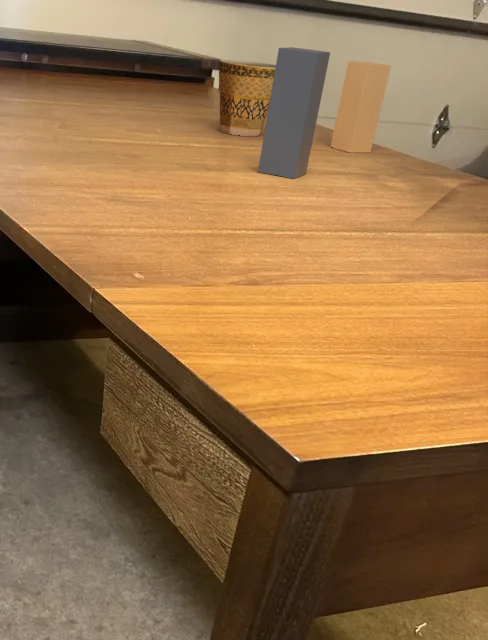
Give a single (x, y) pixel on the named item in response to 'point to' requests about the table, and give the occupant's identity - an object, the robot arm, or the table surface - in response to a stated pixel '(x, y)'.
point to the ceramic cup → (244, 96)
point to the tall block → (360, 106)
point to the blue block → (293, 111)
